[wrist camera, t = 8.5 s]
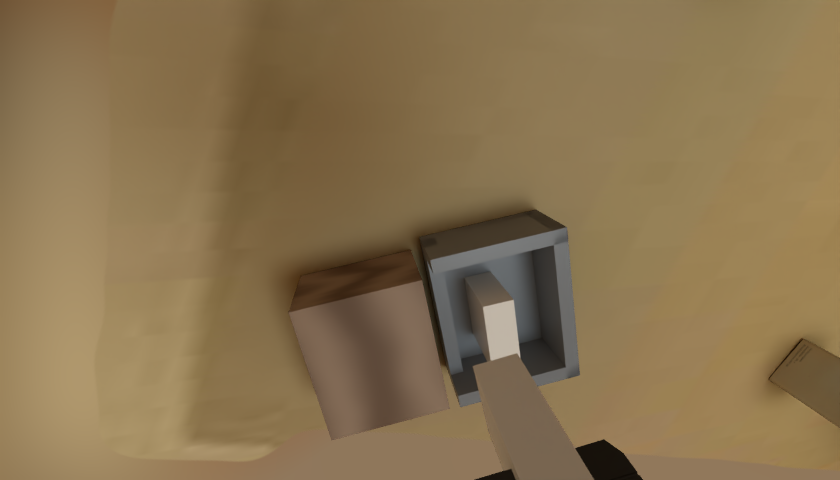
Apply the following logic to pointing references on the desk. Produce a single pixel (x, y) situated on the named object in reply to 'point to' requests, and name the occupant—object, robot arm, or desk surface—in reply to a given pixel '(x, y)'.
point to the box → (524, 281)
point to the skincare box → (812, 379)
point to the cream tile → (492, 316)
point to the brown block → (369, 344)
